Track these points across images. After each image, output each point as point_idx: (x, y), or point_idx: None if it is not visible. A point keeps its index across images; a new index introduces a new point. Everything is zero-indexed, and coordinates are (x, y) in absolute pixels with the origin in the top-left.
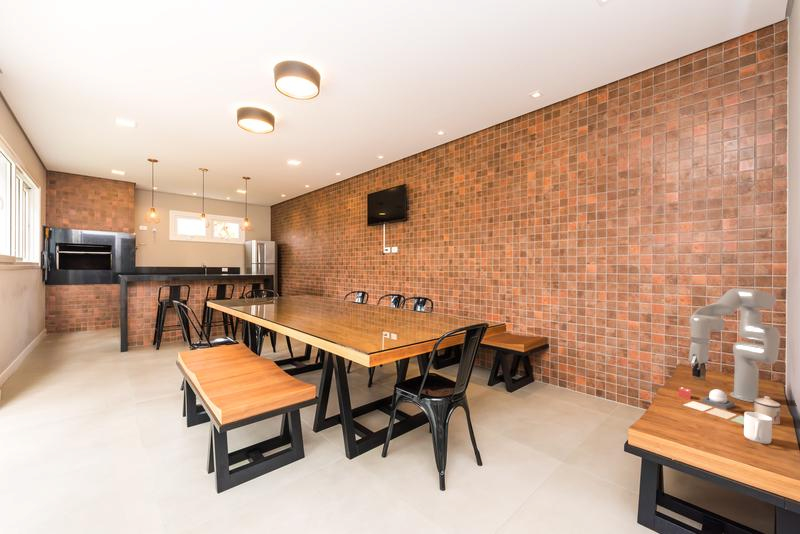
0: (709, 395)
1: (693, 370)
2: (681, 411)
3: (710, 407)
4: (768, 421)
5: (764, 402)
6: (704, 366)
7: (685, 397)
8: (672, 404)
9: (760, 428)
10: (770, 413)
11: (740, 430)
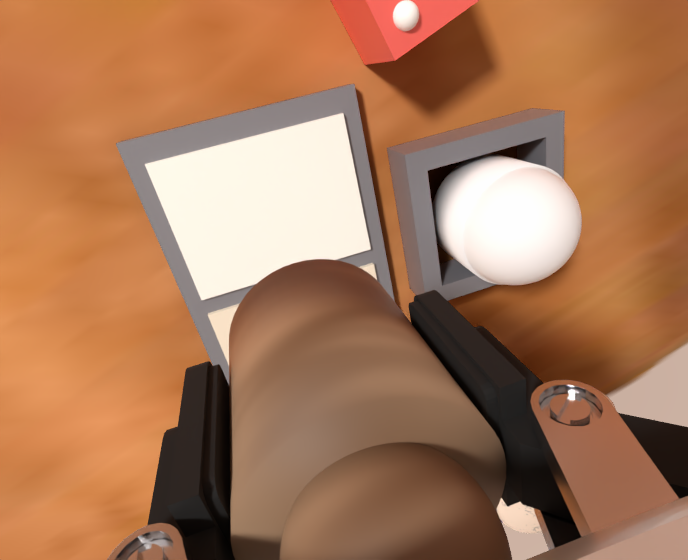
0: (475, 184)
1: (183, 466)
2: (37, 239)
3: (344, 251)
4: None
5: (515, 512)
6: (538, 517)
7: (352, 25)
8: (90, 87)
9: None
10: None
11: None
